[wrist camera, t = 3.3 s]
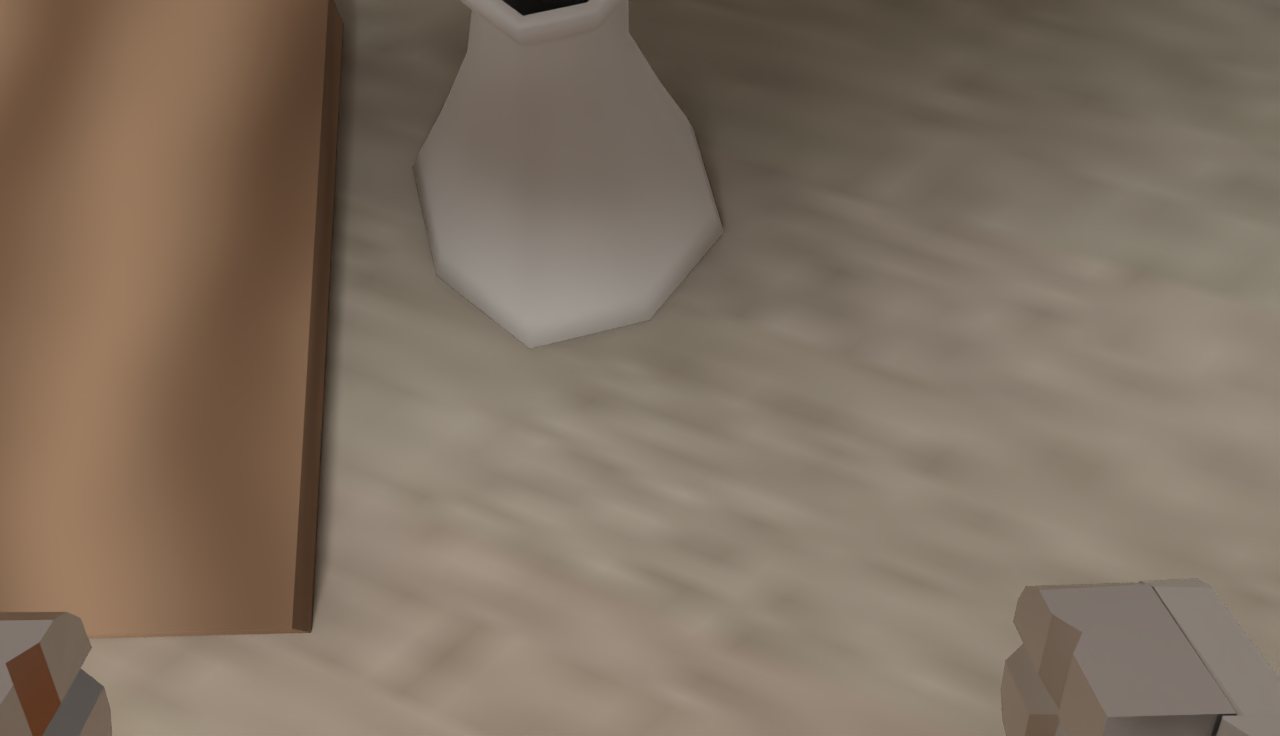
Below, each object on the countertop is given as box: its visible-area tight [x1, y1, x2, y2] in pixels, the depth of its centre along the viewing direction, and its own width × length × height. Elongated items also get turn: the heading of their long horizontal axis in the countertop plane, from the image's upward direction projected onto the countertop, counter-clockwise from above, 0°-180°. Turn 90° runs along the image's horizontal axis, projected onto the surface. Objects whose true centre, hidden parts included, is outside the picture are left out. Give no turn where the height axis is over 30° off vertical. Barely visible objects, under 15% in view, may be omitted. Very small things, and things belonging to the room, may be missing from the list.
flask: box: [413, 0, 724, 349], centre depth 23 cm, size 7×7×10 cm
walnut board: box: [0, 0, 343, 638], centre depth 26 cm, size 14×15×2 cm
